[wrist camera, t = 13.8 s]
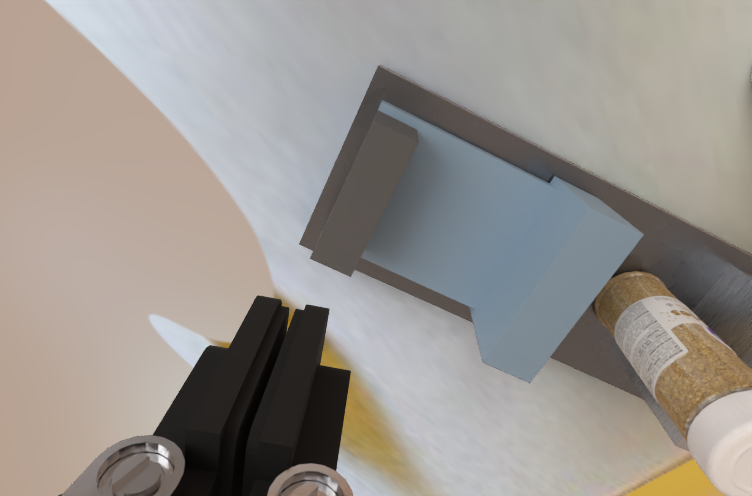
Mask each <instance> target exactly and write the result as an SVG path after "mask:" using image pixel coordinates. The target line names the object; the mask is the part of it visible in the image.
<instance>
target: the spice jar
mask: <svg viewBox="0 0 752 496" xmlns="http://www.w3.org/2000/svg"><path fill="white" fill-rule="evenodd" d="M594 306H595V312H596V315H597V317H598V319H599V321H600V322H601V323H602V324H603V325H604V326H605V327H607V328H608V330H609V331H610V333H611V334H612V335H613V337H614V338H615V340H616V343H617V344H618V346H619V348H620V349H621V351H622V352H623V353H624V355H625V356H626V358H627V359H628V361H629V362H630V364H631V365H632V366H633V368H634V369H635V371H636V372H637V374H638V375H639V377H640V378H641V379H642V381H643V382H644V384H645V385H646V387H647V388H648V389H649V391H650V392H651V394H652V395H653V397H654V398H655V400H656V401H657V402H658V404H659V405H660V406H661V407H662V408H663V409H664V410H665V411H666V413H667V414H668V416H669V417H670V418H671V420H672V421H673V422H674V424H675V425H676V426H677V428H678V429H679V431H680V432H681V434H682V435H683V437H684V438H685V439H686V441H687V445H688V448H689V451H690V453H691V455H692V457H693V458H694V460H695V461H696V462H697V464H698V465H699V467H700V468H701V470H702V471H703V472H704V474H705V475H706V476H707V478H708V479H709V480H710V482H711V483H712V484H713V485H714V486H715V487H716V488H717V489H718V490H719V491H721V492H722V493H724V494H725V495H727V496H752V369H751V368H749V367H748V365H746V364H745V363H744V362H743V361H742V360H741V359H740V358H739V357H738V356H737V355H736V353H735V352H734V351H733V350H732V349H731V348H730V347H729V346H728V345H727V344H726V343H725V342H724V341H722V340H721V339H720V338H719V337H718V336H717V335H716V334H715V333H714V332H713V331H712V330H711V329H710V328H709V327H708V326H707V325H706V324H705V323H704V322H702V321H701V320H700V319H699V318H698V317H697V316H696V315H695V314H694V313H693V312H692V311H691V310H690V309H689V308H688V307H687V306H686V305H685V304H683V303H682V302H681V301H679V300H678V299H677V298H676V297H675V296H674V295H673V294H672V293H671V292H670V291H669V290H668V289H667V288H666V286H665V285H664V283H663V282H662V281H661V280H660V279H659V278H658V277H656V276H654V275H652V274H650V273H646V272H639V271H632V272H626V273H622V274H620V275H617V276H616V277H613V278H612V279H611V280H609V281H608V282H607V283H606V285H605V286H604V287H603V289H602V290H601V291H600V292H599V294H598V295H597V296H596V299H595V304H594Z"/></svg>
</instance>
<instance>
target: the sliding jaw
mask: <svg viewBox="0 0 752 496" xmlns="http://www.w3.org/2000/svg"><path fill="white" fill-rule="evenodd" d="M643 235H644V234H643V233H641V232H640V231H639V230H638V229H636V228H635V227H634V226H633V225H631V224H630V223H629V222H628V221H626V220H625V219H624V218H623V217H621V216H620V215H619V214H617V213H616V212H615V211H614V210H612V209H611V208H610V207H609V206H607V205H606V204H605V203H604V202H602V201H601V200H600V199H599V198H597V197H595V196H593V195H591V194H589V193H587V192H585V191H583V190H581V189H579V188H577V187H575V186H573V185H571V184H569V183H567V182H565V181H563V180H561V179H559V178H557V177H555V176H554V178H553V179H552V181H551V182H550V183H548V182H546V181H544V180H542V179H540V178H538V177H536V176H534V175H532V174H530V173H528V172H526V171H524V170H522V169H520V168H518V167H516V166H514V165H512V164H510V163H508V162H506V161H504V160H502V159H500V158H498V157H496V156H494V155H492V154H490V153H488V152H486V151H484V150H482V149H480V148H478V147H476V146H474V145H472V144H470V143H468V142H466V141H464V140H462V139H460V138H458V137H456V136H454V135H452V134H450V133H448V132H446V131H444V130H442V129H440V128H438V127H436V126H434V125H432V124H430V123H428V122H426V121H424V120H422V119H420V118H418V117H416V116H414V115H412V114H410V113H408V112H406V111H404V110H402V109H400V108H398V107H396V106H394V105H392V104H390V103H388V102H386V101H384V100H382V102H381V104H380V107H379V109H378V111H377V113H376V115H375V117H374V120H373V122H372V124H371V126H370V128H369V131H368V133H367V135H366V137H365V139H364V141H363V144H362V146H361V148H360V150H359V152H358V154H357V157H356V159H355V161H354V163H353V165H352V167H351V170H350V172H349V174H348V176H347V178H346V180H345V183H344V185H343V187H342V189H341V191H340V194H339V196H338V198H337V200H336V202H335V204H334V207H333V209H332V211H331V213H330V215H329V217H328V220H327V222H326V224H325V226H324V228H323V230H322V233H321V235H320V237H319V240H318V242H317V244H316V246H315V248H314V251H313V253H312V255H311V257H310V259H312V260H314V261H317V262H319V263H321V264H323V265H325V266H328V267H330V268H332V269H334V270H337V271H339V272H341V273H343V274H346V275H348V276H350V277H351V275H352V273H353V271H354V269H355V267H356V265H357V263H358V261H359V259H360V258H363V259H365V260H368V261H370V262H372V263H374V264H376V265H379V266H381V267H383V268H385V269H387V270H390V271H392V272H394V273H396V274H398V275H401V276H403V277H405V278H407V279H409V280H412V281H414V282H416V283H418V284H420V285H423V286H425V287H427V288H429V289H431V290H434V291H436V292H438V293H440V294H442V295H445V296H447V297H449V298H451V299H453V300H456V301H458V302H460V303H462V304H464V305H467V306H469V308H470V312H471V316H472V320H473V324H474V328H475V332H476V336H477V341H478V345H479V349H480V353H481V357H482V361H483V363H485V364H487V365H490V366H492V367H494V368H496V369H499V370H501V371H503V372H505V373H508V374H510V375H512V376H515V377H517V378H519V379H521V380H524V381H526V382H528V383H530V382H531V381H532V380H533V378H534V377H535V376H536V374H537V373H538V372H539V371H540V369H541V368H542V367H543V365H544V364H545V363H546V361H547V360H548V359H549V358H550V356H551V355H552V354H553V352H554V351H555V350H556V348H557V347H558V346H559V345H560V343H561V342H562V341H563V339H564V338H565V337H566V335H567V334H568V333H569V331H570V330H571V329H572V328H573V326H574V325H575V324H576V322H577V321H578V320H579V318H580V317H581V316H582V315H583V313H584V312H585V311H586V309H587V308H588V307H589V305H590V304H591V303H592V302H593V300H594V299H595V298H596V296H597V295H598V294H599V292H600V291H601V290H602V289H603V287H604V286H605V285H606V283H607V282H608V281H609V279H610V278H611V277H612V276H613V274H614V273H615V272H616V270H617V269H618V268H619V266H620V265H621V264H622V263H623V261H624V260H625V259H626V257H627V256H628V255H629V253H630V252H631V251H632V250H633V248H634V247H635V246H636V244H637V243H638V242H639V240H640V239H641V238H642V237H643Z"/></svg>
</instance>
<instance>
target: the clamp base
mask: <svg viewBox="0 0 752 496" xmlns="http://www.w3.org/2000/svg"><path fill="white" fill-rule="evenodd" d="M382 100H384V101H386V102H388V103H390V104H392V105H394V106H396V107H398V108H400V109H402V110H404V111H406V112H408V113H410V114H412V115H414V116H416V117H418V118H420V119H422V120H424V121H426V122H428V123H430V124H432V125H434V126H436V127H438V128H440V129H442V130H444V131H446V132H448V133H450V134H452V135H454V136H456V137H458V138H460V139H462V140H464V141H466V142H468V143H470V144H472V145H474V146H476V147H478V148H480V149H482V150H484V151H486V152H488V153H490V154H492V155H494V156H496V157H498V158H500V159H502V160H504V161H506V162H508V163H510V164H512V165H514V166H516V167H518V168H520V169H522V170H524V171H526V172H528V173H530V174H532V175H534V176H536V177H538V178H540V179H542V180H544V181H546V182H548V183H550V182H551V181H552V179H553V178H554V176H555V177H557V178H559V179H561V180H563V181H565V182H567V183H569V184H571V185H573V186H575V187H577V188H579V189H581V190H583V191H585V192H587V193H589V194H591V195H593V196H595V197H597V198H599V199H600V200H601V201H602V202H604V203H605V204H606V205H607V206H609V207H610V208H611V209H612V210H614V211H615V212H616V213H617V214H619V215H620V216H621V217H623V218H624V219H625V220H626V221H628V222H629V223H630V224H631V225H633V226H634V227H635V228H636V229H638V230H639V231H640V232H641V233H643V234H644V235H643V237H642V238H641V239H640V240H639V242H638V243H637V244H636V246H635V247H634V248H633V250H632V251H631V252H630V253H629V255H628V256H627V257H626V259H625V260H624V261H623V263H622V264H621V265H620V266H619V268H618V269H617V270H616V272H615V273H614V274H613V276H612V277H611V278H610V279H609V280H611V279H612V278H613V277H616V276H617V275H620V274H622V273H626V272H632V271H639V272H646V273H650V274H652V275H654V276H656V277H658V278H659V279H660V280H661V281H662V282H663V283H664V285H665V286H666V288H667V289H668V290H669V291H670V292H671V293H672V294H673V295H674V296H675V297H676V298H677V299H678V300H679V301H681V302H682V303H683V304H685V305H686V306H687V307H688V308H689V309H690V310H691V311H692V312H693V313H694V314H695V315H696V316H697V317H698V318H699V319H700V320H701V321H702V322H704V323H705V324H706V325H707V326H708V327H709V328H710V329H711V330H712V331H713V332H714V333H715V334H716V335H717V336H718V337H719V338H720V339H721V340H722V341H724V342H725V343H726V344H727V345H728V346H729V347H730V348H731V349H732V350H733V351H734V352H735V353H736V355H737V356H738V357H739V358H740V359H741V360H742V361H743V362H744V363H745V364H746V365H748V367H749V368H751V369H752V255H751V254H749V253H747V252H745V251H743V250H741V249H739V248H738V247H736V246H734V245H732V244H730V243H728V242H726V241H724V240H722V239H720V238H718V237H716V236H714V235H712V234H710V233H708V232H706V231H704V230H702V229H700V228H698V227H696V226H694V225H692V224H691V223H689V222H687V221H685V220H683V219H681V218H679V217H677V216H675V215H673V214H671V213H669V212H667V211H665V210H663V209H661V208H659V207H657V206H655V205H653V204H651V203H649V202H647V201H645V200H643V199H642V198H640V197H638V196H636V195H634V194H632V193H630V192H628V191H626V190H624V189H622V188H620V187H618V186H616V185H614V184H612V183H610V182H608V181H606V180H604V179H602V178H600V177H598V176H596V175H595V174H593V173H591V172H589V171H587V170H585V169H583V168H581V167H579V166H577V165H575V164H573V163H571V162H569V161H567V160H565V159H563V158H561V157H559V156H557V155H555V154H553V153H551V152H549V151H548V150H546V149H544V148H542V147H540V146H538V145H536V144H534V143H532V142H530V141H528V140H526V139H524V138H522V137H520V136H518V135H516V134H514V133H512V132H510V131H508V130H506V129H504V128H502V127H501V126H499V125H497V124H495V123H493V122H491V121H489V120H487V119H485V118H483V117H481V116H479V115H477V114H475V113H473V112H471V111H469V110H467V109H465V108H463V107H461V106H459V105H457V104H455V103H453V102H452V101H450V100H448V99H446V98H444V97H442V96H440V95H438V94H436V93H434V92H432V91H430V90H428V89H426V88H424V87H422V86H420V85H418V84H416V83H414V82H412V81H410V80H408V79H406V78H405V77H403V76H401V75H399V74H397V73H395V72H393V71H391V70H389V69H387V68H385V67H383V66H381V65H379V66H378V68H377V70H376V72H375V74H374V77H373V79H372V81H371V83H370V86H369V88H368V90H367V92H366V95H365V97H364V99H363V101H362V104H361V106H360V108H359V110H358V113H357V115H356V117H355V119H354V122H353V124H352V126H351V128H350V131H349V133H348V135H347V137H346V140H345V142H344V144H343V146H342V149H341V151H340V153H339V155H338V158H337V160H336V162H335V164H334V167H333V169H332V171H331V173H330V176H329V178H328V180H327V182H326V185H325V187H324V189H323V191H322V194H321V196H320V198H319V201H318V203H317V205H316V207H315V210H314V212H313V214H312V216H311V219H310V221H309V223H308V225H307V228H306V230H305V232H304V234H303V237H302V239H301V241H300V243H299V244H300V245H302V246H304V247H306V248H308V249H311V250H313V251H314V248H315V246H316V244H317V242H318V240H319V237H320V235H321V233H322V230H323V228H324V226H325V224H326V222H327V220H328V217H329V215H330V213H331V211H332V209H333V207H334V204H335V202H336V200H337V198H338V196H339V194H340V191H341V189H342V187H343V185H344V183H345V180H346V178H347V176H348V174H349V172H350V170H351V167H352V165H353V163H354V161H355V159H356V157H357V154H358V152H359V150H360V148H361V146H362V144H363V141H364V139H365V137H366V135H367V133H368V131H369V128H370V126H371V124H372V122H373V120H374V117H375V115H376V113H377V111H378V109H379V107H380V104H381V102H382ZM355 270H357V271H360V272H362V273H364V274H366V275H368V276H371V277H373V278H375V279H377V280H380V281H382V282H384V283H386V284H388V285H391V286H393V287H395V288H397V289H400V290H402V291H404V292H406V293H408V294H411V295H413V296H415V297H417V298H420V299H422V300H424V301H426V302H429V303H431V304H433V305H435V306H437V307H440V308H442V309H444V310H446V311H449V312H451V313H453V314H455V315H457V316H460V317H462V318H464V319H466V320H469V321H471V322H473V320H472V316H471V312H470V308H469V306H467V305H464V304H462V303H460V302H458V301H456V300H453V299H451V298H449V297H447V296H445V295H442V294H440V293H438V292H436V291H434V290H431V289H429V288H427V287H425V286H423V285H420V284H418V283H416V282H414V281H412V280H409V279H407V278H405V277H403V276H401V275H398V274H396V273H394V272H392V271H390V270H387V269H385V268H383V267H381V266H379V265H376V264H374V263H372V262H370V261H368V260H365V259H363V258H360V259H359V261H358V263H357V265H356V267H355ZM595 299H596V298H595ZM595 299H594V300H593V302H592V303H591V304H590V305H589V307H588V308H587V309H586V311H585V312H584V313H583V315H582V316H581V317H580V318H579V320H578V321H577V322H576V324H575V325H574V326H573V328H572V329H571V330H570V331H569V333H568V334H567V335H566V337H565V338H564V339H563V341H562V342H561V343H560V345H559V346H558V347H557V348H556V350H555V351H554V352H553V354H552V355H551V356H550V357H551V358H553V359H555V360H558V361H560V362H562V363H564V364H566V365H569V366H571V367H573V368H575V369H578V370H580V371H582V372H584V373H586V374H589V375H591V376H593V377H595V378H598V379H600V380H602V381H604V382H606V383H609V384H611V385H613V386H615V387H618V388H620V389H622V390H624V391H626V392H629V393H631V394H633V395H635V396H638V397H640V398H642V399H644V400H645V401H646V402H647V404H648V405H649V407H650V408H651V410H652V411H653V413H654V414H655V416H656V417H657V419H658V420H659V422H660V423H661V425H662V426H663V428H664V429H665V431H666V432H667V434H668V435H669V437H670V438H671V439H672V441H673V442H674V444H675V445H676V446H678V447H680V448H683V449H685V450H687V451H689V448H688V445H687V441H686V439H685V438H684V437H683V435H682V434H681V432H680V431H679V429H678V428H677V426H676V425H675V424H674V422H673V421H672V420H671V418H670V417H669V416H668V414H667V413H666V411H665V410H664V409H663V408H662V407H661V406H660V405H659V404H658V402H657V401H656V400H655V398H654V397H653V395H652V394H651V392H650V391H649V389H648V388H647V387H646V385H645V384H644V382H643V381H642V379H641V378H640V377H639V375H638V374H637V372H636V371H635V369H634V368H633V366H632V365H631V364H630V362H629V361H628V359H627V358H626V356H625V355H624V353H623V352H622V351H621V349H620V348H619V346H618V344H617V343H616V340H615V338H614V337H613V335H612V334H611V333H610V331H609V330H608V328H607V327H605V326H604V325H603V324H602V323H601V322H600V321H599V319H598V317H597V315H596V312H595V306H594V304H595Z"/></svg>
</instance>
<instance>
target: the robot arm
mask: <svg viewBox="0 0 752 496" xmlns="http://www.w3.org/2000/svg"><path fill="white" fill-rule="evenodd" d="M328 315H329V309H328V308H323V307H318V306H312V305H306V306H305V309H304V310H299V309H296V310H295V312H294V315H293V318H292V320H291V323H290V326H289V328H288V331H287V324H288V317H289V307H283V306H282V301H281V300H280V299H275V298H269V297H264V296H257V297H256V298H255V300H254V302H253V304H252V306H251V308H250V310H249V311H248V313H247V315H246V317H245V319H244V321H243V323H242V325H241V326H240V328H239V330H238V332H237V333H236V335H235V337H234V339H233V341H232V343H231V345H230V346H229V348H222V347H217V346H211V345H210V346H208V347H207V348H206V349H205V350H204V352H203V353H202V355H201V357H200V358H199V360H198V362H197V363H196V365H195V367H194V368H193V370H192V372H191V373H190V375H189V376H188V378H187V380H186V381H185V383H184V385H183V386H182V388H181V390H180V391H179V393H178V395H177V396H176V398H175V399H174V401H173V403H172V404H171V406H170V408H169V409H168V411H167V412H166V414H165V416H164V417H163V419H162V421H161V422H160V424H159V426H158V427H157V429H156V431H155V432H154V434H153V435H147V436H136V437H132V438H129V439H125V440H122V441H120V442H118V443H116V444H114V445H112V446H111V447H109V448H107V449H106V450H105V451H104V452H102V453H101V454H100V455H99V456H98V457H97V458H96V459H95V460H94V461H93V462H92V463H91V464H90V465H89V466H88V467H87V468H86V470H85V471H84V472H83V473H82V474H81V475H80V476H79V477H78V478H77V479H76V481H74V483H73V484H72V485H71V486H70V487H69V488H68V489H67V490H66V491H65V492H64V493H63V494H61V495H59V496H353V493H352V490H351V488H350V486H349V485H348V483H347V481H346V480H345V479H344V478H343V477H342V476H341V475H340V474H339V473H338V472H336V468H337V461H338V454H339V447H340V441H341V434H342V427H343V421H344V414H345V407H346V400H347V394H348V387H349V380H350V373H351V371H349V370H343V369H338V368H332V367H327V366H321V365H320V362H321V356H322V350H323V345H324V339H325V333H326V327H327V321H328ZM286 332H287V334H286Z"/></svg>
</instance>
